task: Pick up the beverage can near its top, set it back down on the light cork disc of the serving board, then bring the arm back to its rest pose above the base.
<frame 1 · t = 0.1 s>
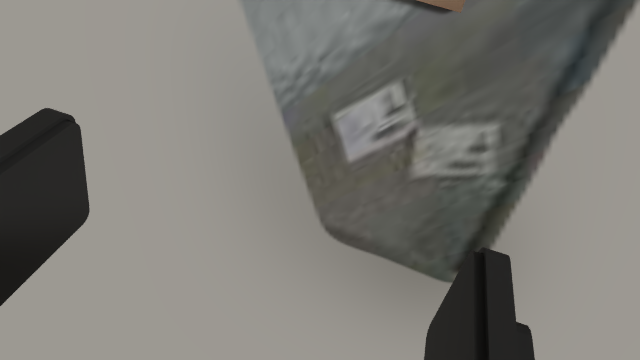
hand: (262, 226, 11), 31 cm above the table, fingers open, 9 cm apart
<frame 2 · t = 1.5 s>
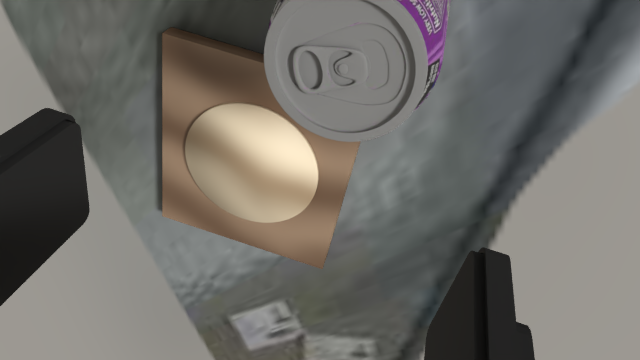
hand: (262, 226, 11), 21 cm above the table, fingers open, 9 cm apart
board: (257, 156, 37), on the table
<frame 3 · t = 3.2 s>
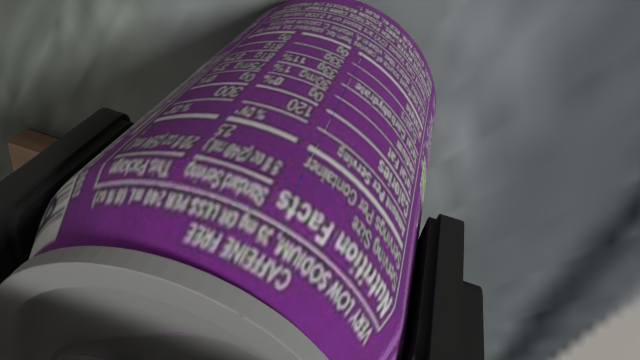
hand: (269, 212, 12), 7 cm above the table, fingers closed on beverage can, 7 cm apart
beverage can: (334, 91, 17), on the table, touching gripper
board: (170, 294, 26), on the table
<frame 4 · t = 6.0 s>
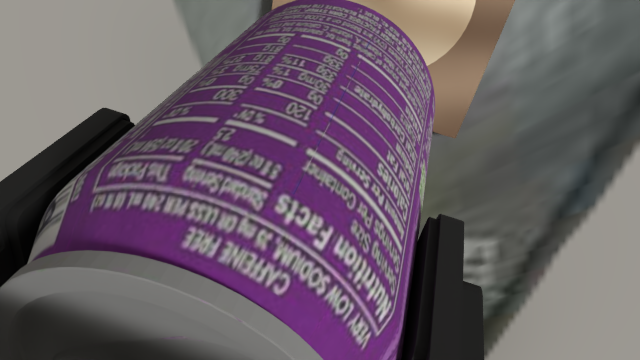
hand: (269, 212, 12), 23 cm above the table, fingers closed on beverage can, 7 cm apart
beverage can: (334, 93, 17), point 16 cm above the table, touching gripper
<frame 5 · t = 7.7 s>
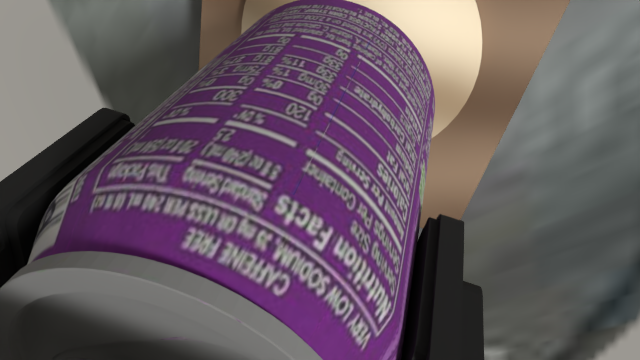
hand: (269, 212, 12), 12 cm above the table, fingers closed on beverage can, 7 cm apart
beverage can: (334, 93, 18), point 5 cm above the table, touching gripper
board: (362, 41, 22), on the table
when the fingers open (10 cm above the table, at t = 8.9 s): beverage can drops 1 cm, resting on board.
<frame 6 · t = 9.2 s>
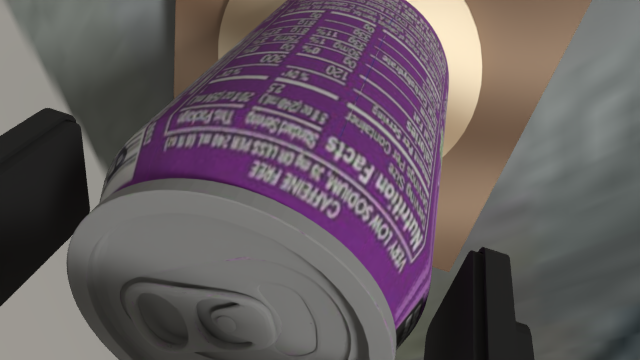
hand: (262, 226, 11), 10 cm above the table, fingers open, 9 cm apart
beverage can: (352, 74, 19), point 1 cm above the table, touching board
board: (350, 63, 20), on the table
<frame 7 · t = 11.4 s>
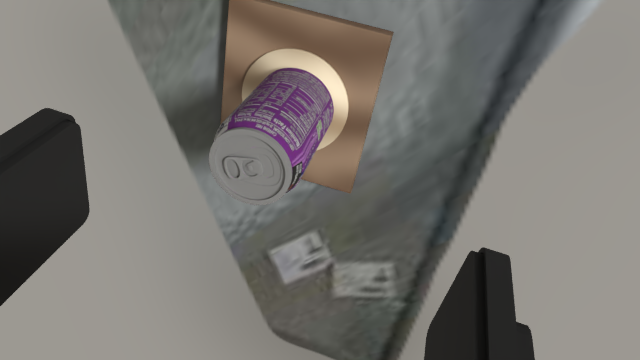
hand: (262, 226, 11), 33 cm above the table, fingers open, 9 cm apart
beverage can: (297, 101, 45), point 1 cm above the table, touching board
board: (298, 97, 46), on the table
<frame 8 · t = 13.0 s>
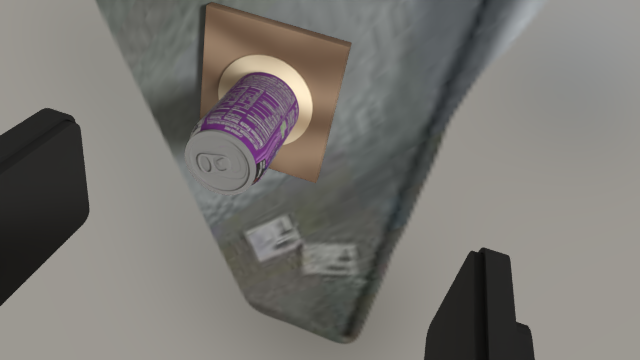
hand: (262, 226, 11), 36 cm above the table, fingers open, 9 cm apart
beverage can: (268, 101, 50), point 1 cm above the table, touching board
board: (269, 96, 51), on the table
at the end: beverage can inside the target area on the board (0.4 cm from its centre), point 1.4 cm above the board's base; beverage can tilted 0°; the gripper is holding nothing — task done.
